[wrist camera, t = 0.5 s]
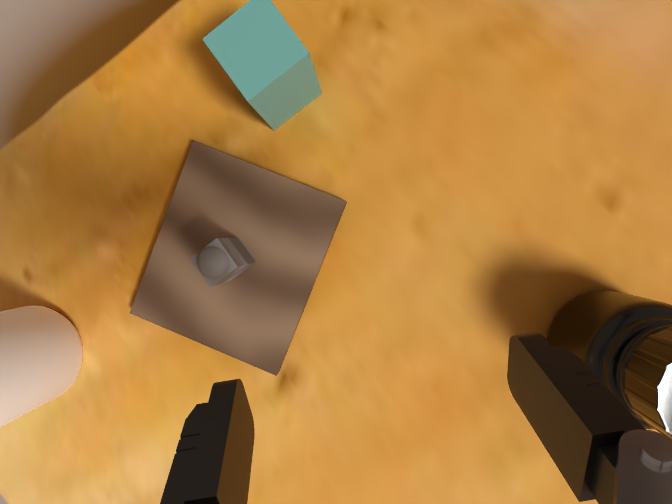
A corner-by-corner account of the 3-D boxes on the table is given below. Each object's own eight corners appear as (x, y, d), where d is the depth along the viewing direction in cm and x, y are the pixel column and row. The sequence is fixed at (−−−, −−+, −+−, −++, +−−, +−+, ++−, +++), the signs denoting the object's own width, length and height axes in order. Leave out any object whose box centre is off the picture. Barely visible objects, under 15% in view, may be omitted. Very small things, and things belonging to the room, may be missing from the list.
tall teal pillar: (286, 44, 36) (263, -11, 28) (322, 93, 36) (309, 52, 28) (238, 81, 36) (202, 39, 28) (273, 130, 36) (247, 101, 28)
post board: (198, 143, 37) (157, 121, 29) (346, 202, 36) (341, 194, 29) (137, 310, 38) (83, 328, 31) (279, 371, 37) (258, 404, 30)
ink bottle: (619, 417, 35) (750, 512, 23) (523, 368, 35) (603, 436, 23) (678, 315, 34) (845, 358, 22) (579, 266, 35) (691, 283, 23)
